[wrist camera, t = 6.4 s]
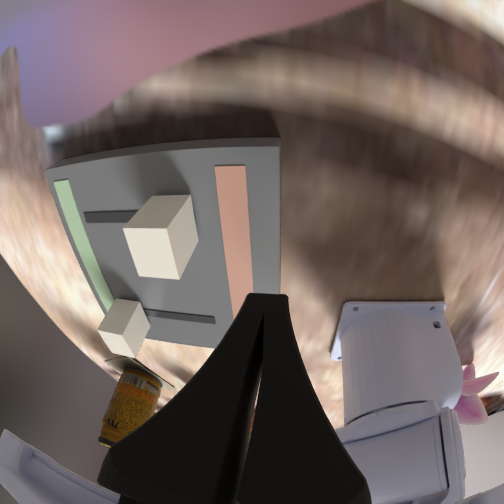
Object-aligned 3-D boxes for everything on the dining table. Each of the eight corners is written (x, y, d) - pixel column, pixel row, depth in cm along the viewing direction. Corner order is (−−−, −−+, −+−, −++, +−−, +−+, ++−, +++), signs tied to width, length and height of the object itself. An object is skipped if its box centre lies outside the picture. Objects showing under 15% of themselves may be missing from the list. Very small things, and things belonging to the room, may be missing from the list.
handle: (139, 301, 21) (122, 335, 18) (150, 325, 23) (135, 358, 20) (115, 298, 22) (97, 329, 19) (127, 322, 23) (111, 352, 21)
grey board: (280, 137, 15) (279, 147, 13) (278, 335, 25) (277, 354, 23) (61, 159, 17) (43, 170, 15) (122, 317, 27) (114, 332, 25)
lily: (377, 382, 30) (402, 445, 25) (401, 370, 21) (434, 458, 15) (451, 339, 30) (475, 397, 25) (492, 310, 20) (524, 386, 15)
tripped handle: (190, 194, 15) (166, 228, 12) (198, 240, 17) (179, 279, 14) (152, 195, 15) (122, 228, 13) (162, 239, 17) (138, 276, 14)
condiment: (146, 390, 38) (123, 456, 29) (104, 360, 35) (73, 429, 25) (176, 387, 35) (153, 463, 26) (130, 354, 32) (95, 436, 22)
